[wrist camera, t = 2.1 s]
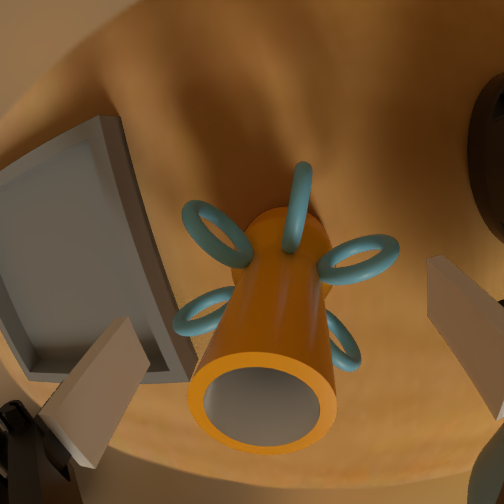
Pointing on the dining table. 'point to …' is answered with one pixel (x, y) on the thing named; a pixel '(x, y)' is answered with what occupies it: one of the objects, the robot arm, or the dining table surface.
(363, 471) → the dining table surface
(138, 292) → the tray
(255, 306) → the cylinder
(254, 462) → the dining table surface
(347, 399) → the dining table surface
